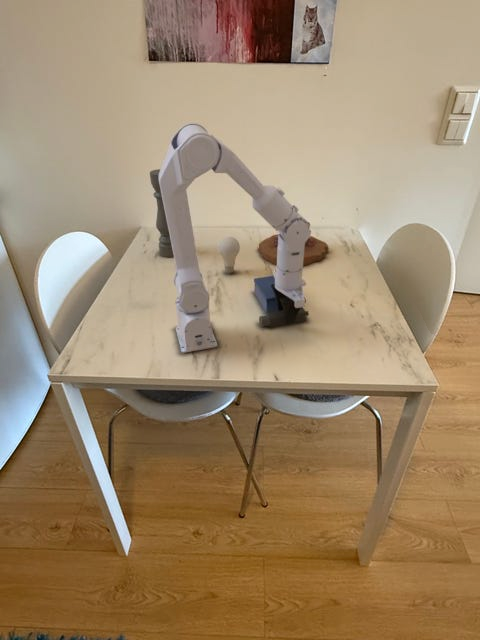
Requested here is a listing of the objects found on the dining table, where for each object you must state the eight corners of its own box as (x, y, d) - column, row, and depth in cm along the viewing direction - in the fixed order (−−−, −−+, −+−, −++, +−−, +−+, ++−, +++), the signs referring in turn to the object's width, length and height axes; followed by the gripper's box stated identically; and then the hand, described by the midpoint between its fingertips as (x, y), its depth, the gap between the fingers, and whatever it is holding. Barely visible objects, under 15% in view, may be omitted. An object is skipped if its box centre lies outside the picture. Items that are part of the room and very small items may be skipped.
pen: (305, 314, 101) (306, 305, 99) (309, 320, 98) (310, 311, 97) (258, 322, 98) (259, 313, 96) (262, 329, 96) (262, 320, 94)
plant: (247, 251, 129) (247, 217, 123) (289, 234, 140) (291, 202, 134) (295, 274, 117) (297, 237, 111) (336, 253, 128) (341, 219, 121)
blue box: (293, 309, 103) (294, 294, 100) (265, 314, 101) (266, 298, 98) (279, 289, 111) (280, 274, 108) (253, 293, 109) (253, 278, 106)
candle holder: (183, 251, 130) (175, 170, 116) (170, 258, 126) (160, 176, 111) (168, 246, 133) (158, 167, 118) (155, 254, 129) (144, 173, 114)
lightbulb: (244, 272, 119) (244, 236, 112) (229, 279, 115) (228, 243, 109) (229, 265, 122) (228, 230, 116) (214, 272, 118) (212, 237, 112)
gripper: (320, 279, 85) (314, 331, 93) (294, 249, 96) (290, 298, 104) (288, 284, 83) (285, 336, 91) (266, 253, 95) (264, 302, 103)
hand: (286, 316), depth 98 cm, fingers open, 4 cm apart
